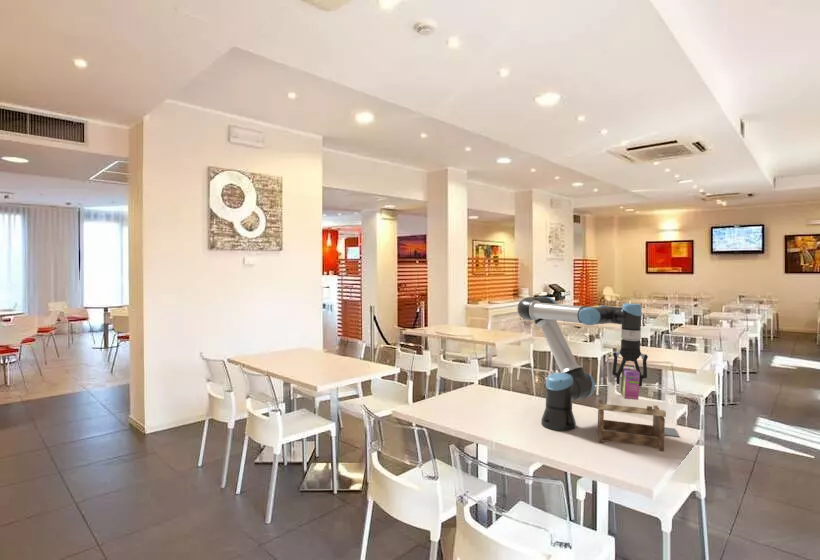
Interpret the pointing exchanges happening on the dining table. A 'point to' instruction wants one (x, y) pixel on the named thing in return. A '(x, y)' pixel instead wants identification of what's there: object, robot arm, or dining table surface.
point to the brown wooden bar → (632, 409)
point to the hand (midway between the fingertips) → (628, 392)
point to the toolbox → (632, 431)
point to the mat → (670, 432)
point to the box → (630, 383)
